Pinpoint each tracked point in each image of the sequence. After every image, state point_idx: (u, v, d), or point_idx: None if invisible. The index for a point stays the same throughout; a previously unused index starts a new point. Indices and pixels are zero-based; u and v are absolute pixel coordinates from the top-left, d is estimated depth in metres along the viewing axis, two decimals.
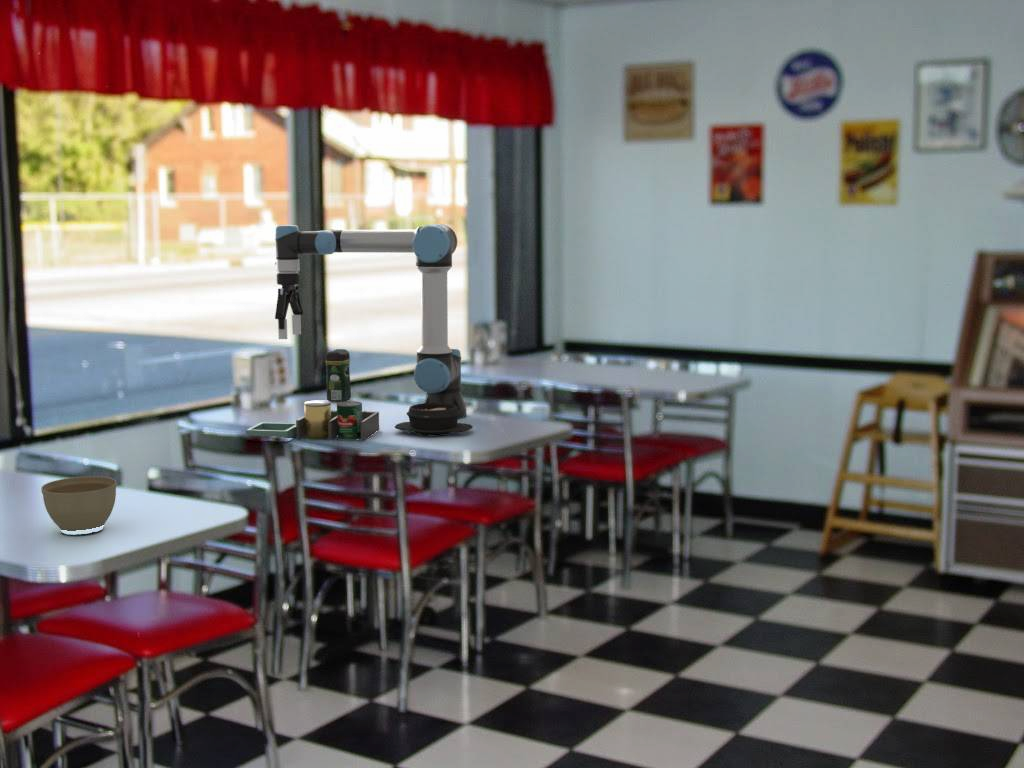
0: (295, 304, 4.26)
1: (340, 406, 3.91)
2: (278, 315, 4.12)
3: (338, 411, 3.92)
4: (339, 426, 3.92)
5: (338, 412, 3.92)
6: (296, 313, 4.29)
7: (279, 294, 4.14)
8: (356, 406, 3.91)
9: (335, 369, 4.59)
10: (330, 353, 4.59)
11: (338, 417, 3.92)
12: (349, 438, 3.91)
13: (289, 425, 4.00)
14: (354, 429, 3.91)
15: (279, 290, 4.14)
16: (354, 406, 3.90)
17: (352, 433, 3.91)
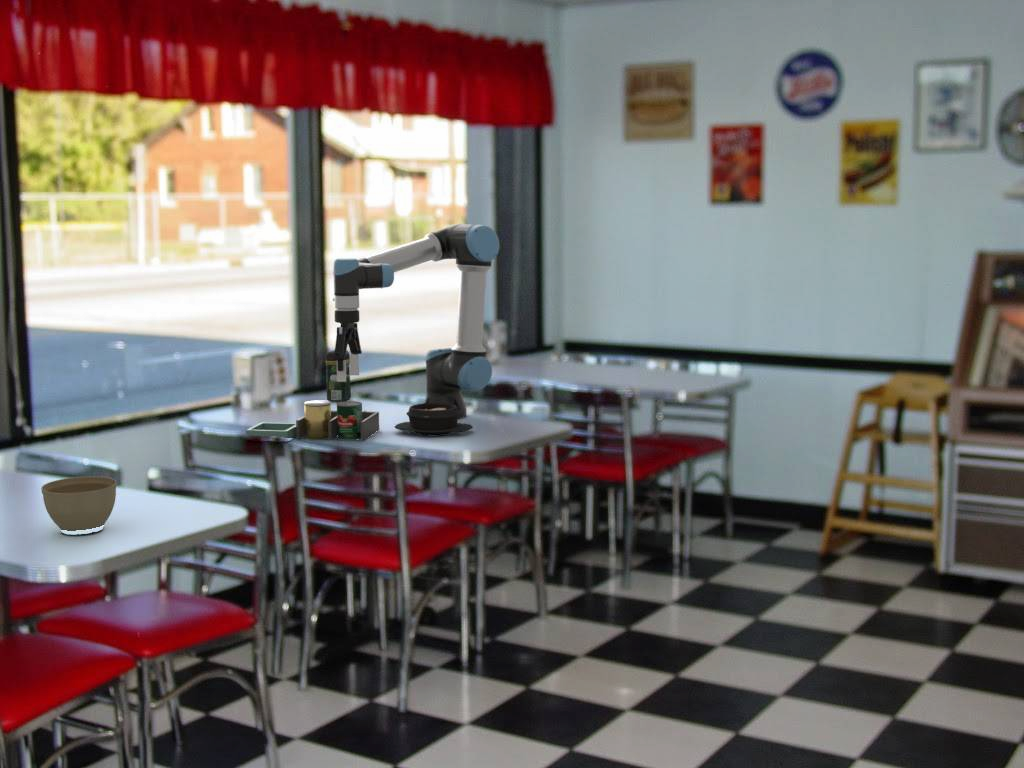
0: (353, 343, 3.95)
1: (340, 406, 3.91)
2: (337, 356, 3.81)
3: (338, 411, 3.92)
4: (339, 426, 3.92)
5: (338, 412, 3.92)
6: (354, 352, 3.98)
7: (338, 333, 3.84)
8: (356, 406, 3.91)
9: (335, 369, 4.59)
10: (330, 353, 4.59)
11: (338, 417, 3.92)
12: (349, 438, 3.91)
13: (289, 425, 4.00)
14: (354, 429, 3.91)
15: (338, 329, 3.83)
16: (354, 406, 3.90)
17: (352, 433, 3.91)
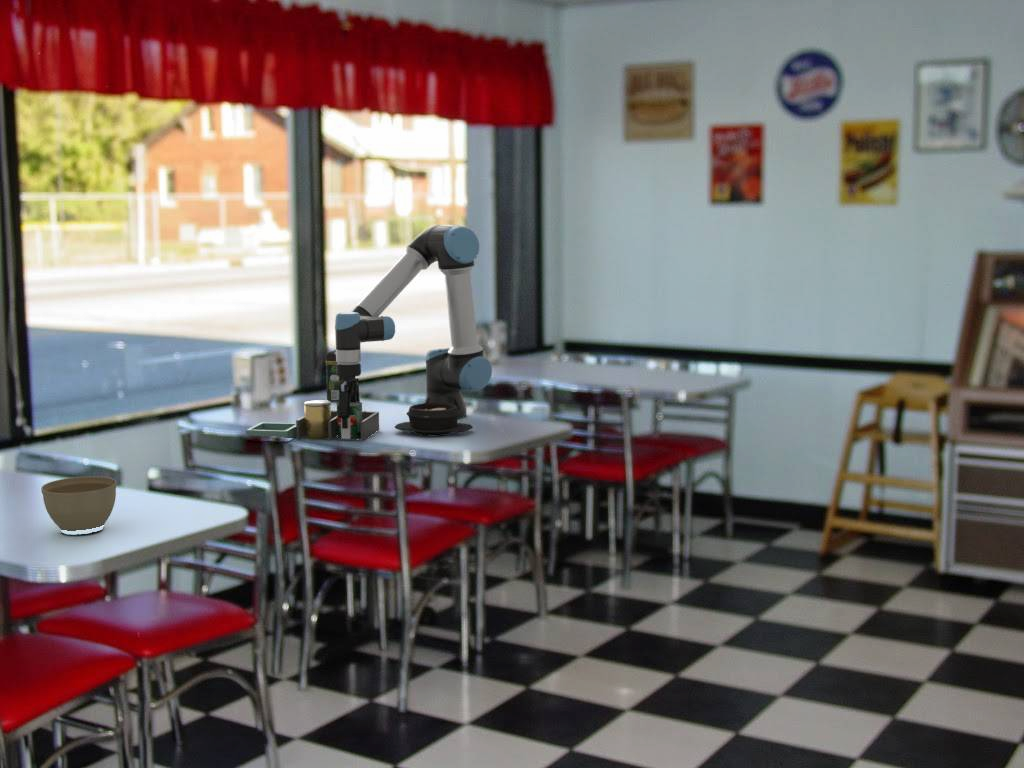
0: (354, 398, 3.96)
1: None
2: (341, 414, 3.87)
3: (338, 411, 3.92)
4: (339, 426, 3.92)
5: (338, 412, 3.92)
6: None
7: (340, 391, 3.87)
8: (356, 406, 3.91)
9: (335, 369, 4.59)
10: (330, 353, 4.59)
11: None
12: None
13: (289, 425, 4.00)
14: (354, 429, 3.91)
15: (340, 387, 3.86)
16: (354, 406, 3.90)
17: (351, 433, 3.91)
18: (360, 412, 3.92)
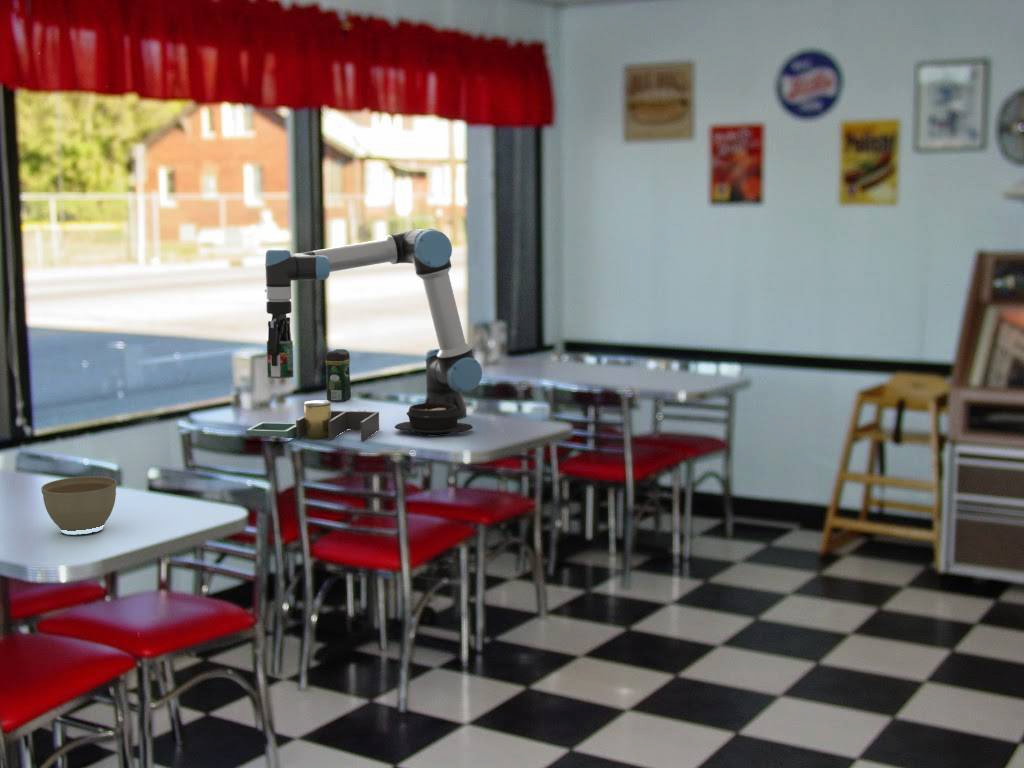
0: (284, 337, 3.94)
1: None
2: (271, 351, 3.84)
3: None
4: (269, 364, 3.90)
5: None
6: None
7: (270, 328, 3.84)
8: (286, 344, 3.88)
9: (335, 369, 4.59)
10: (330, 353, 4.59)
11: (268, 355, 3.89)
12: None
13: (289, 425, 4.00)
14: (284, 367, 3.89)
15: (269, 323, 3.84)
16: (284, 343, 3.88)
17: (281, 371, 3.89)
18: (290, 350, 3.90)
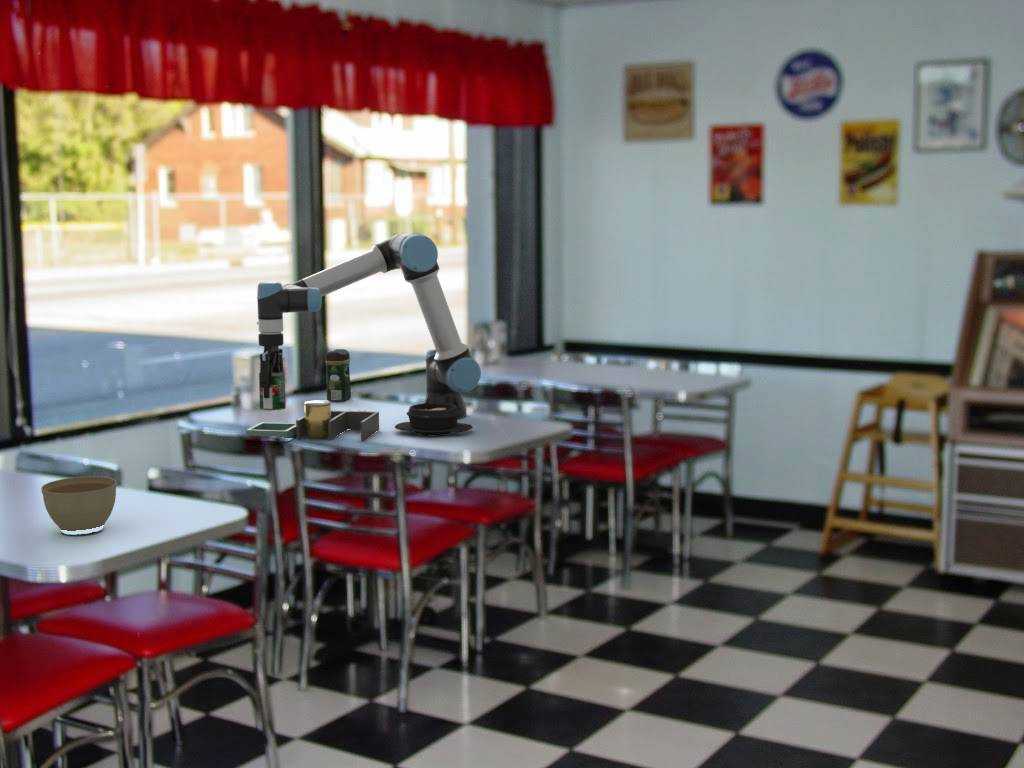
0: (277, 369, 3.95)
1: None
2: (263, 384, 3.86)
3: None
4: (261, 396, 3.91)
5: None
6: None
7: (261, 360, 3.86)
8: (278, 376, 3.90)
9: (335, 369, 4.59)
10: (330, 353, 4.59)
11: None
12: None
13: (289, 425, 4.00)
14: (276, 399, 3.91)
15: (261, 356, 3.86)
16: (276, 376, 3.90)
17: (273, 403, 3.91)
18: (282, 382, 3.92)
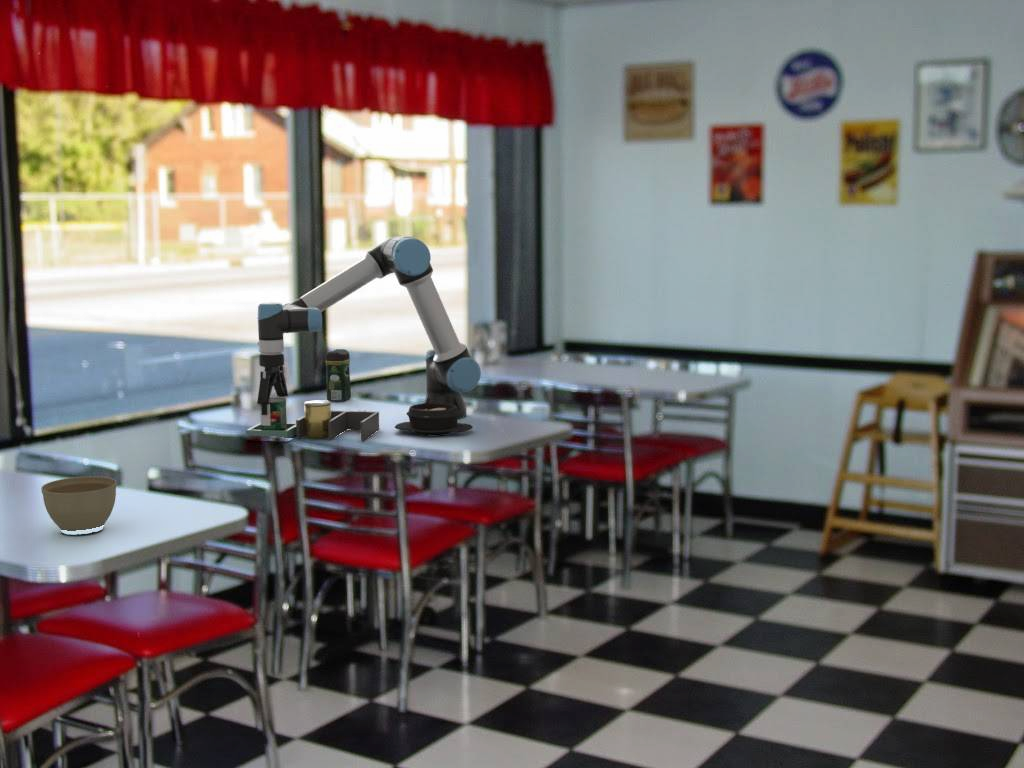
0: (279, 386, 3.98)
1: None
2: (260, 400, 3.84)
3: None
4: None
5: None
6: (280, 395, 4.01)
7: (262, 377, 3.86)
8: (279, 402, 3.91)
9: (335, 369, 4.59)
10: (330, 353, 4.59)
11: None
12: None
13: (289, 425, 4.00)
14: (278, 426, 3.92)
15: (262, 373, 3.86)
16: (277, 402, 3.91)
17: (275, 429, 3.92)
18: (284, 408, 3.93)
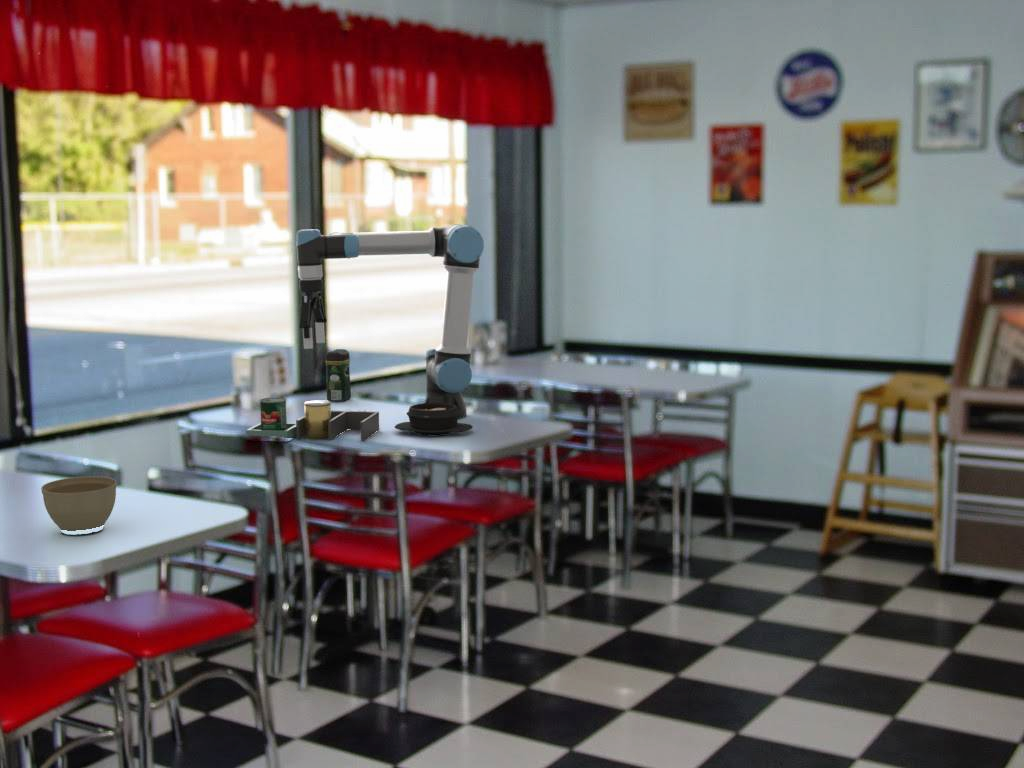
0: (318, 311, 4.08)
1: (263, 402, 3.91)
2: (303, 324, 3.95)
3: (261, 407, 3.92)
4: (262, 422, 3.93)
5: (261, 408, 3.92)
6: (319, 321, 4.12)
7: (303, 302, 3.97)
8: (279, 402, 3.91)
9: (335, 369, 4.59)
10: (330, 353, 4.59)
11: (261, 413, 3.93)
12: None
13: (289, 425, 4.00)
14: (278, 426, 3.92)
15: (303, 298, 3.97)
16: (277, 402, 3.91)
17: (275, 429, 3.92)
18: (283, 408, 3.93)
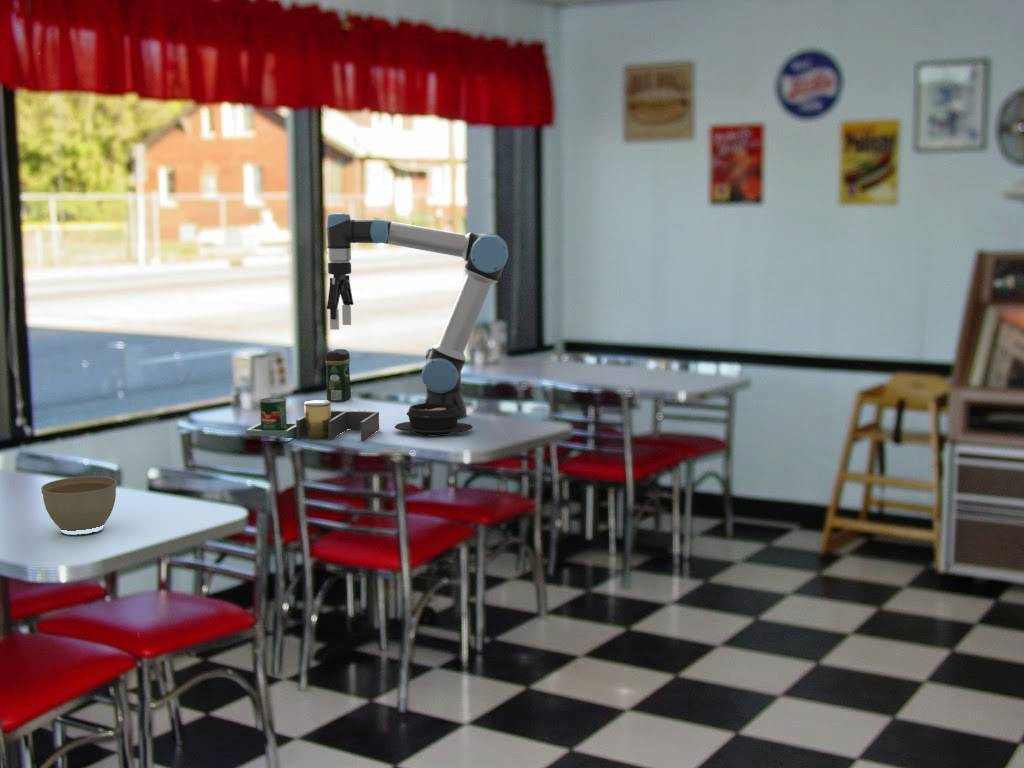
0: (346, 294, 4.18)
1: (263, 402, 3.91)
2: (330, 305, 4.04)
3: (261, 407, 3.92)
4: (262, 422, 3.93)
5: (261, 408, 3.92)
6: (346, 303, 4.21)
7: (331, 284, 4.06)
8: (279, 402, 3.91)
9: (335, 369, 4.59)
10: (330, 353, 4.59)
11: (261, 413, 3.93)
12: None
13: (289, 425, 4.00)
14: (278, 426, 3.92)
15: (331, 279, 4.06)
16: (277, 402, 3.91)
17: (275, 429, 3.92)
18: (283, 408, 3.93)
